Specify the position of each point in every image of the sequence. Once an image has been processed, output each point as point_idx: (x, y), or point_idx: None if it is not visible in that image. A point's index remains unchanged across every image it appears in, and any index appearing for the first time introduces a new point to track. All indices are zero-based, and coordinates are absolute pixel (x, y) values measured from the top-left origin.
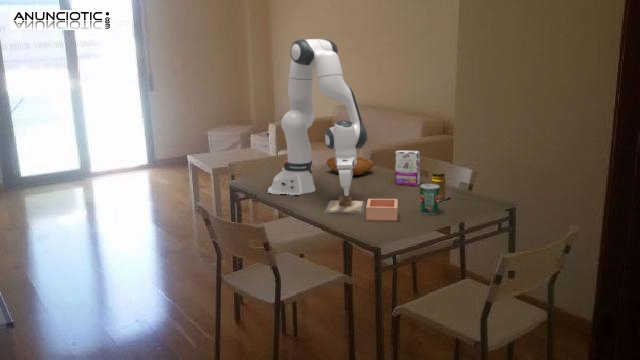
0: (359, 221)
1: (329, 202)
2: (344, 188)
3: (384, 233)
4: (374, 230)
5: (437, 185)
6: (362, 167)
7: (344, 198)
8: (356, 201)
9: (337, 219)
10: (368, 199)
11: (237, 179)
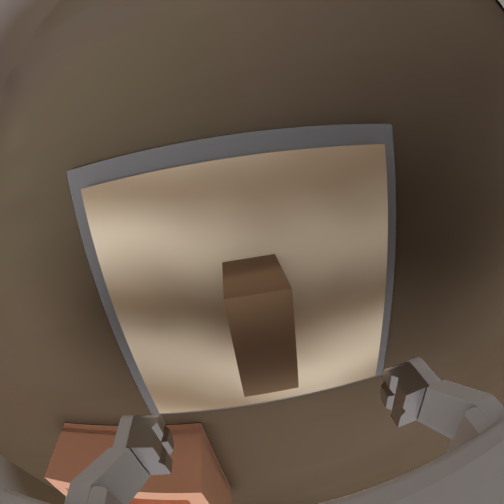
0: (52, 400)
1: (364, 132)
2: (78, 486)
3: (15, 452)
4: (13, 435)
5: None
6: None
7: (234, 348)
8: (364, 348)
9: (16, 297)
10: (182, 494)
11: None
